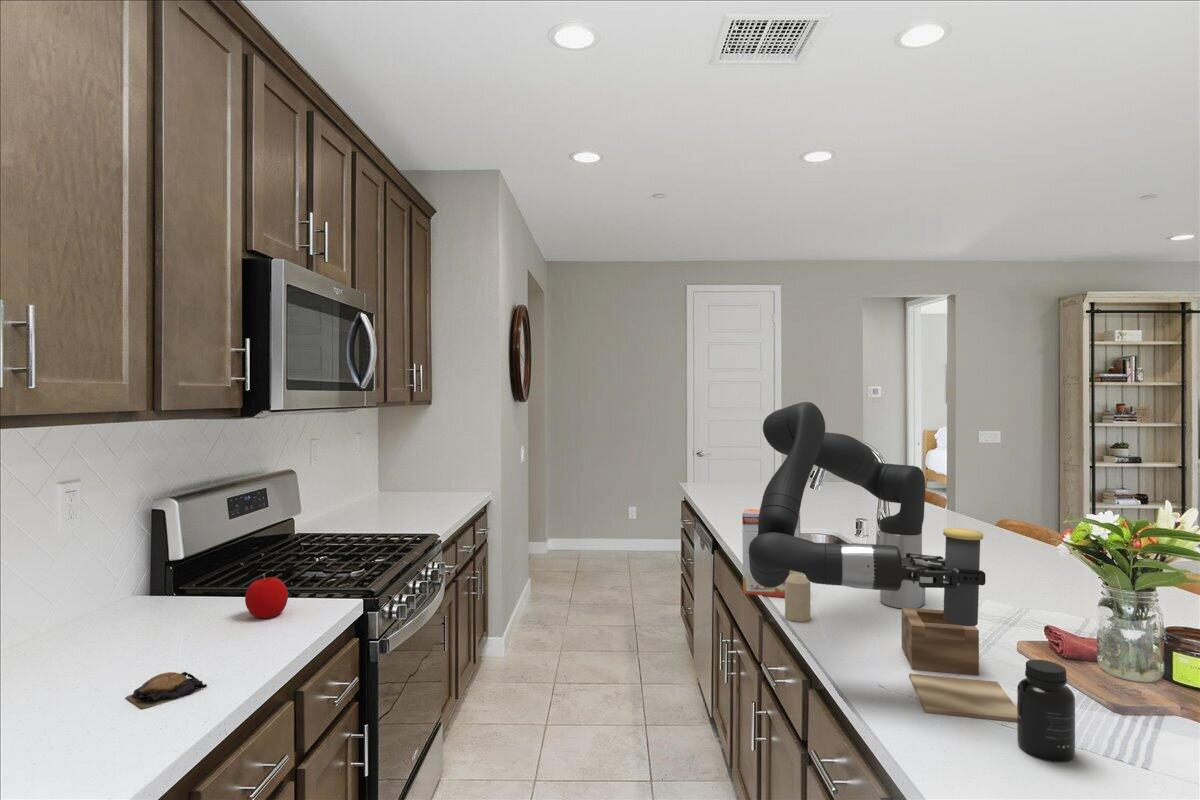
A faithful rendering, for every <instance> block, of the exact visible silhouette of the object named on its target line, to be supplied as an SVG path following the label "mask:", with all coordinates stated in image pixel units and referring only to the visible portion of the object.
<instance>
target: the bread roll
mask: <svg viewBox="0 0 1200 800" xmlns="http://www.w3.org/2000/svg"><path fill="white" fill-rule="evenodd" d="M207 686H208V684H207V683H205V684H204V683H203V680H199V679H198V678H197V677H195V676H194V675H193V674H191V673H188V672H186V671H182V672H181V673H179V672H173V671H172V672H171V671H170V672H162V673H160V674H158V675H155V676H154V677H150V679H148V680H147V681H145V682H144V683H143V684H142V685H141V686H140V687H138V688H136V689H134V691H133V693H132V694H129V695H127V696H126V697H125V700H127V701H128V702H130V703H131V704H133V705H134V706H135V707H137V709H140V710H146V709H150V708H153V707H156V706H160V705H164V704H165V703H169V702H172V701H175V700H179V699H181V698H184V697H187V696H190V695H192V694H195V693H198V692H201V691H203V690H204V688H205V689H207V688H208V687H207Z"/></svg>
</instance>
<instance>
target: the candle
mask: <svg viewBox="0 0 1200 800" xmlns="http://www.w3.org/2000/svg"><path fill="white" fill-rule="evenodd" d="M811 612H812V611H811V582H810V581H809V580H808V579H807V578H806V576H805V574H803V573H799V572H798V573H792V574H790V575H789V576H788V577H787V579H786V580H785V597H784V618H785V619H786V620H788V621H791V622H796V623H805V622H809V621H810V620H811Z"/></svg>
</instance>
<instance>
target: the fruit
mask: <svg viewBox="0 0 1200 800" xmlns="http://www.w3.org/2000/svg"><path fill="white" fill-rule="evenodd" d="M262 576H263V578H260V579H257V580H254V581H253V582H252V583H251V584H250V585H249V586H248V587H247V590H246V592H245V597H244V598H245V599H244V601H245V607H246V608H247V611H248V612H249V613H250V614H251V615H252V616H253V617H254V618H259V619H271V618H274V617H276V616H278V615H280V614H281V613H282V612H283V611H284V610H285V608H286V606H287V604H288V600H289V592H288V588H287V587H286V584H285V583H284V581H282V580H281V579H279V578H278V577H275V576H269V577H266V575H265V573H263V574H262Z"/></svg>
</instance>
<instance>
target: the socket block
mask: <svg viewBox="0 0 1200 800" xmlns="http://www.w3.org/2000/svg"><path fill="white" fill-rule="evenodd" d="M943 615H944V609H933V608H921V607H919V608H906V607H902V608H901V649H902V651H903V654H904V656H905V658H906V659H907V662H908V664H909V666H910V668H911V670H914V671H915V670H916V671H918V670H919V671H927V672H939V673H949V674H960V675H973V676H979V675H980V633H979V632H980V630H979V629H978V628H977V627H976V626H961V625H956V624H952V623H949V622H947V621H945V620H944V619H943Z"/></svg>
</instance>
